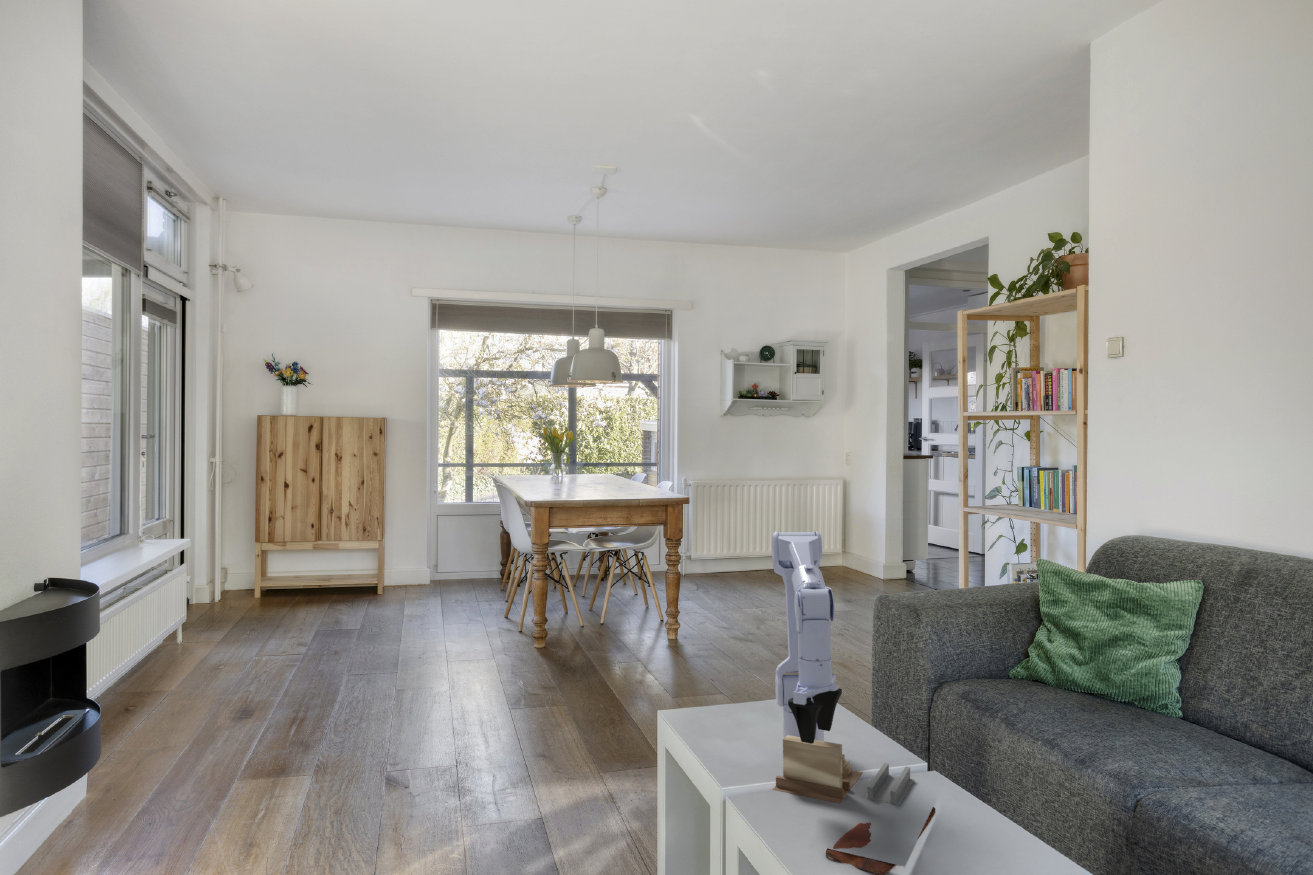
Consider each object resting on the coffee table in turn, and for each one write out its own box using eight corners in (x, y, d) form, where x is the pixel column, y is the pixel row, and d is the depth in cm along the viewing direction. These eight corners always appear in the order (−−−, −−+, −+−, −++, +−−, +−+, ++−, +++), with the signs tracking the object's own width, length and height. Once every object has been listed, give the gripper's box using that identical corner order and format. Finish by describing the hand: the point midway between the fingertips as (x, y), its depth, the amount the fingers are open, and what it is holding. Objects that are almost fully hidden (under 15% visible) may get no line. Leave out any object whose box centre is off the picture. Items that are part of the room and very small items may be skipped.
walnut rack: (800, 765, 154) (800, 752, 154) (863, 777, 148) (862, 763, 148) (772, 794, 141) (772, 780, 141) (839, 808, 135) (839, 793, 135)
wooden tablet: (886, 882, 113) (886, 870, 113) (821, 861, 119) (820, 850, 119) (945, 813, 134) (945, 803, 134) (887, 798, 140) (886, 788, 140)
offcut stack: (808, 764, 152) (808, 748, 152) (850, 771, 148) (850, 755, 148) (802, 770, 149) (802, 754, 149) (845, 778, 145) (845, 761, 145)
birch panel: (787, 779, 145) (787, 735, 145) (842, 790, 140) (841, 744, 140) (783, 784, 143) (782, 739, 143) (838, 795, 138) (838, 748, 138)
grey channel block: (880, 778, 147) (880, 762, 147) (914, 784, 144) (914, 767, 144) (863, 803, 137) (863, 785, 137) (899, 810, 134) (899, 792, 134)
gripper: (820, 669, 132) (822, 752, 132) (851, 651, 144) (852, 728, 144) (781, 663, 136) (782, 744, 136) (814, 647, 148) (815, 721, 148)
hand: (816, 735), depth 140 cm, fingers open, 7 cm apart
